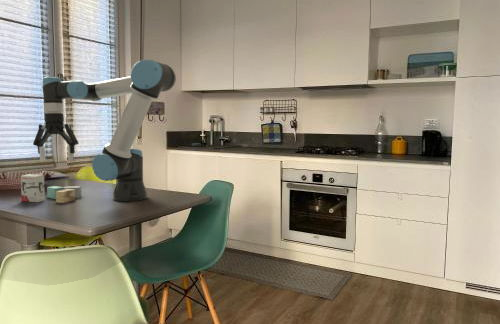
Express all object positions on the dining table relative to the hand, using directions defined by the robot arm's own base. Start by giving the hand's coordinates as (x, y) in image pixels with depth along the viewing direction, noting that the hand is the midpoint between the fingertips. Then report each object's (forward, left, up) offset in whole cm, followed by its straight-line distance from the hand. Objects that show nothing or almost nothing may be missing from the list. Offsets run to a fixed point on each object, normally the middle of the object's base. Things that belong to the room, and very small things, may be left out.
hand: (56, 161), depth 178 cm
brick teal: (+7, -6, -18) cm, 20 cm away
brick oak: (-4, 0, -18) cm, 18 cm away
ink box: (+10, +4, -18) cm, 21 cm away
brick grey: (0, -9, -18) cm, 20 cm away
